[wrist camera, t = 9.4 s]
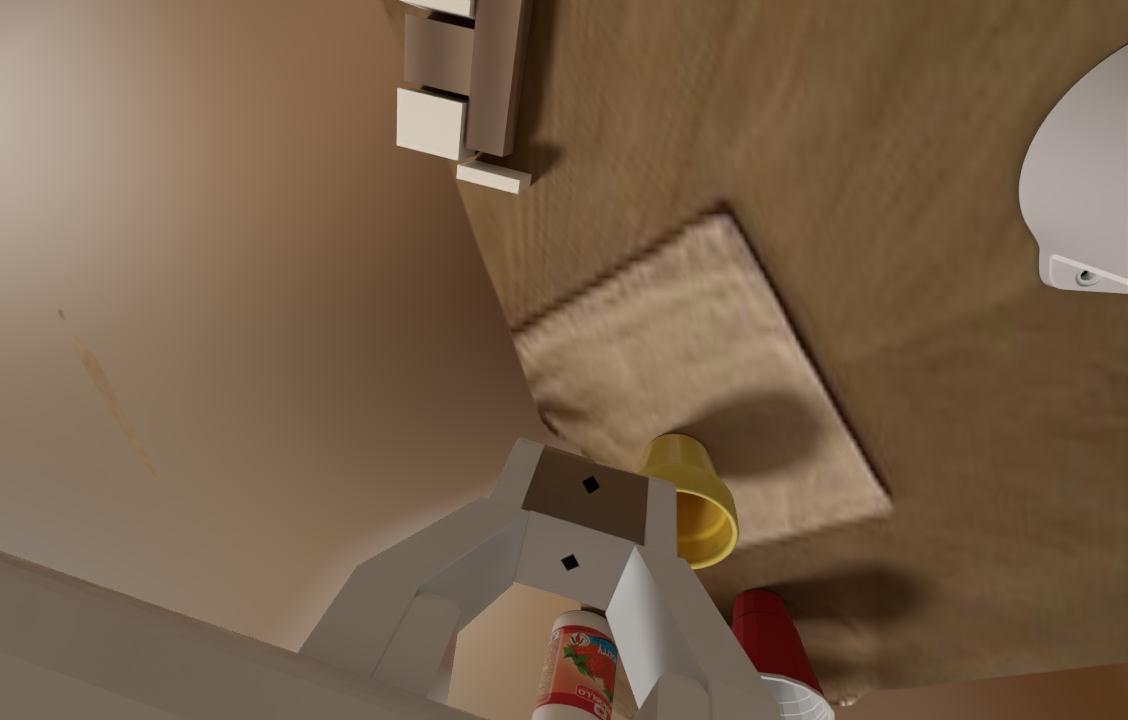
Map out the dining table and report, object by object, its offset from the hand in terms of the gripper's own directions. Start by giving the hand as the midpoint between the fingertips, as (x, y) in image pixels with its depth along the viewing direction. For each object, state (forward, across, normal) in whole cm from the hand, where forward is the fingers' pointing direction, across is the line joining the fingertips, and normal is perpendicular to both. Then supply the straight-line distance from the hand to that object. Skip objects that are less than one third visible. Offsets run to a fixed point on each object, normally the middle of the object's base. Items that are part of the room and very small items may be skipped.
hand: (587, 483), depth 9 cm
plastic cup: (+33, -26, +43) cm, 60 cm away
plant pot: (+33, -10, +25) cm, 43 cm away
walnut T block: (+33, +16, -6) cm, 37 cm away
